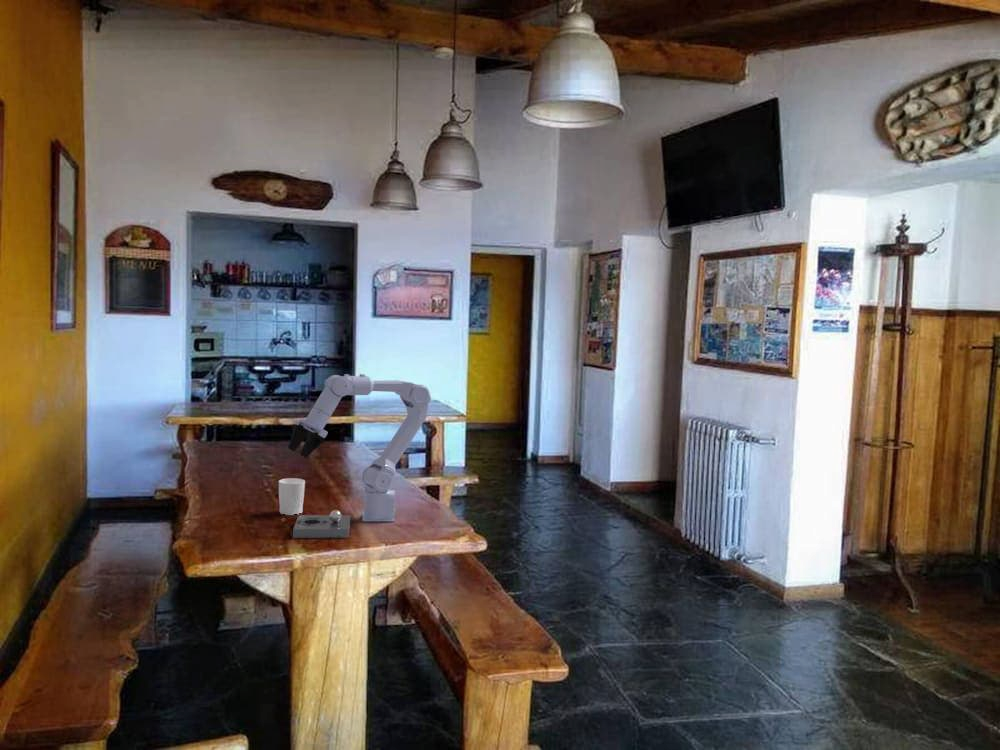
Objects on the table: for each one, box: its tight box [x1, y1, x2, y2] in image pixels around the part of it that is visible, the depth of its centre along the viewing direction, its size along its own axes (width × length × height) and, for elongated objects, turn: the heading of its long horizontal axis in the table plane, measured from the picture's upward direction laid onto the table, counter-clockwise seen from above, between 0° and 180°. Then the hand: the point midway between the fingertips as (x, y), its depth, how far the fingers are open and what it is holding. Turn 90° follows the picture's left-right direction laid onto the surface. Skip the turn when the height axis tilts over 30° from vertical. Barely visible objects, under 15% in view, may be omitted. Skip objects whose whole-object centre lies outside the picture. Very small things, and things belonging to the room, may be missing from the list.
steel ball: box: [329, 509, 343, 522], centre depth 215 cm, size 3×3×3 cm
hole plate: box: [292, 514, 351, 539], centre depth 215 cm, size 15×15×2 cm
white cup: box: [278, 477, 306, 516], centre depth 232 cm, size 8×8×10 cm
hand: (296, 453), depth 215 cm, fingers open, 7 cm apart
